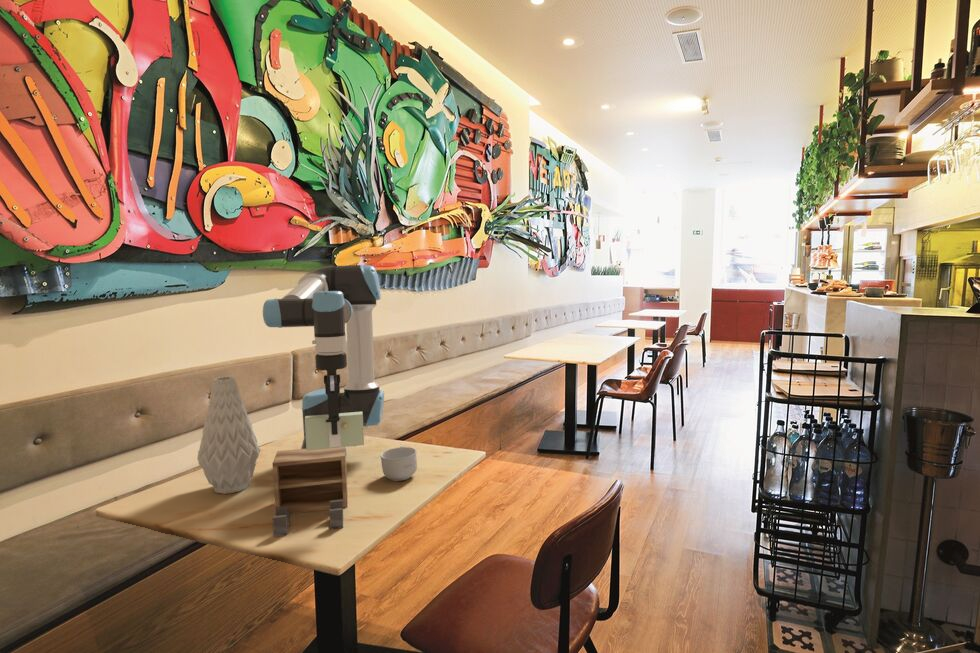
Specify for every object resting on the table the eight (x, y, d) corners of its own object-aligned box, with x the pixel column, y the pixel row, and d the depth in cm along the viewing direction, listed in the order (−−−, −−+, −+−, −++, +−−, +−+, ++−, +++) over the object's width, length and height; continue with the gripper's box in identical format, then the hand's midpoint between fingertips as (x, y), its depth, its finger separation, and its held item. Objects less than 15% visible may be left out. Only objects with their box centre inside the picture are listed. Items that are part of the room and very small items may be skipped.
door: (307, 447, 141) (305, 416, 140) (363, 441, 144) (362, 411, 144) (306, 451, 137) (304, 420, 136) (364, 446, 141) (362, 415, 140)
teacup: (410, 485, 162) (409, 458, 162) (375, 483, 165) (374, 456, 164) (425, 468, 176) (424, 443, 175) (393, 466, 178) (392, 442, 177)
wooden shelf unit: (280, 500, 153) (277, 451, 152) (347, 492, 158) (345, 444, 156) (269, 537, 132) (265, 480, 130) (347, 527, 136) (344, 471, 135)
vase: (191, 489, 163) (182, 378, 160) (248, 473, 175) (241, 370, 171) (211, 505, 151) (202, 386, 148) (271, 487, 163) (264, 377, 160)
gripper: (316, 349, 146) (320, 437, 148) (314, 358, 130) (319, 455, 132) (345, 348, 148) (349, 434, 150) (347, 356, 132) (351, 452, 134)
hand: (335, 444), depth 141 cm, fingers closed on door, 3 cm apart
